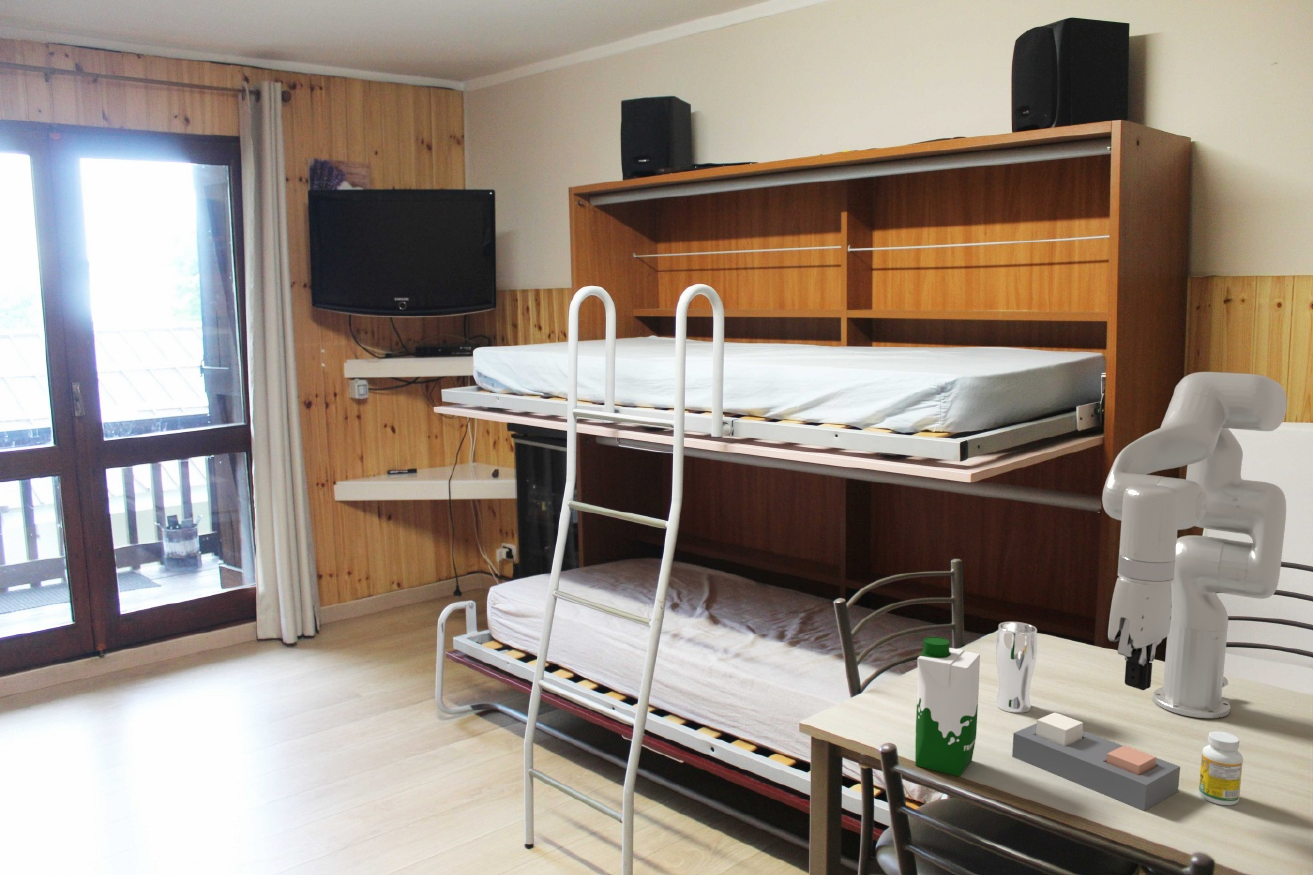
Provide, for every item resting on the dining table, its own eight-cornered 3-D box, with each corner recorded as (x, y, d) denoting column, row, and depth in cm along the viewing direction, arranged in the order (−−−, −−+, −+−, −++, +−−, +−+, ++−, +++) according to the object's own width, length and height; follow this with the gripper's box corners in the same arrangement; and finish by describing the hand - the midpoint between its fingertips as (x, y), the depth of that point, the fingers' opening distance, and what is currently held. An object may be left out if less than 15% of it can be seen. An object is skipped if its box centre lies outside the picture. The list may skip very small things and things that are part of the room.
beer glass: (1027, 700, 191) (1032, 621, 189) (1037, 715, 184) (1042, 634, 182) (989, 698, 191) (993, 620, 189) (997, 713, 185) (1002, 632, 182)
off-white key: (1053, 732, 169) (1054, 712, 169) (1081, 743, 166) (1083, 722, 165) (1035, 740, 166) (1037, 719, 166) (1064, 751, 163) (1065, 730, 162)
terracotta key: (1122, 766, 160) (1124, 745, 160) (1154, 778, 156) (1156, 756, 156) (1105, 775, 157) (1107, 753, 157) (1137, 787, 153) (1139, 765, 153)
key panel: (1047, 740, 173) (1048, 718, 173) (1178, 791, 156) (1180, 766, 155) (1012, 756, 167) (1013, 732, 167) (1144, 810, 150) (1146, 785, 149)
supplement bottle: (1234, 810, 150) (1240, 748, 149) (1194, 798, 154) (1199, 737, 153) (1242, 796, 155) (1248, 736, 153) (1203, 785, 158) (1208, 726, 157)
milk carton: (924, 746, 171) (930, 630, 168) (980, 759, 166) (986, 640, 163) (907, 766, 163) (913, 645, 161) (964, 781, 159) (971, 656, 156)
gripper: (1147, 554, 160) (1138, 667, 162) (1094, 571, 151) (1086, 690, 153) (1196, 565, 154) (1186, 682, 156) (1144, 583, 145) (1135, 706, 148)
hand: (1137, 686), depth 155 cm, fingers closed
